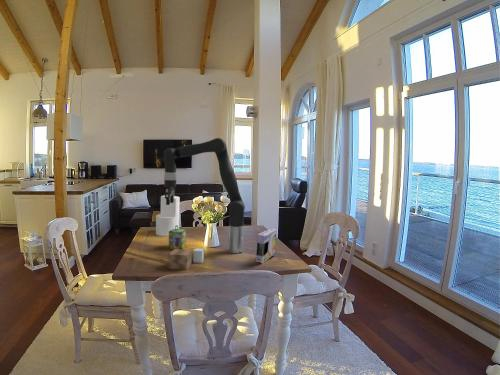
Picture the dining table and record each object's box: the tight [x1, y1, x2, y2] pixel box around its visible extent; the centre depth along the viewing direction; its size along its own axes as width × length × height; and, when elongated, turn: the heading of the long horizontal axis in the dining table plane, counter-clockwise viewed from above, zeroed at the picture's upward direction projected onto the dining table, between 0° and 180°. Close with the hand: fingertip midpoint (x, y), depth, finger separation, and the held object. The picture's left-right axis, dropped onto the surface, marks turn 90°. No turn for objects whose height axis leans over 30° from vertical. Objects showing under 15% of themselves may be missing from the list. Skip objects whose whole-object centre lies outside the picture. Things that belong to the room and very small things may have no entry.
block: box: [192, 247, 205, 264], centre depth 189 cm, size 5×5×7 cm
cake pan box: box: [255, 228, 278, 263], centre depth 197 cm, size 19×5×18 cm, turn 151°
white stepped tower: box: [155, 195, 180, 237], centre depth 248 cm, size 17×17×28 cm
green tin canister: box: [168, 225, 187, 250], centre depth 214 cm, size 9×9×15 cm
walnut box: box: [168, 249, 193, 271], centre depth 180 cm, size 10×10×8 cm
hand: (169, 203), depth 212 cm, fingers open, 8 cm apart
